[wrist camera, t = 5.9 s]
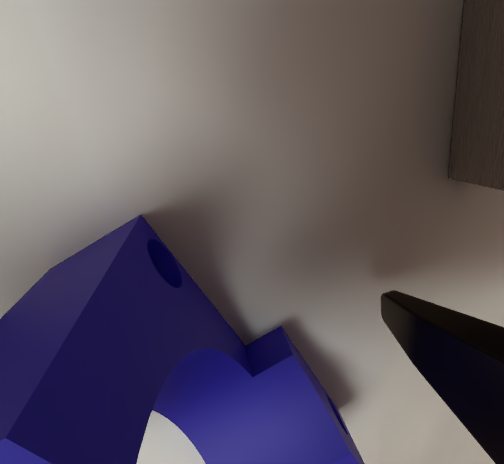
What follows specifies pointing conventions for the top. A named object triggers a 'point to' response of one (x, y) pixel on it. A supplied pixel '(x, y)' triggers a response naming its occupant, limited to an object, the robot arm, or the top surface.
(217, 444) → the cable clip
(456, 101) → the rail bay
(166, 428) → the top surface
